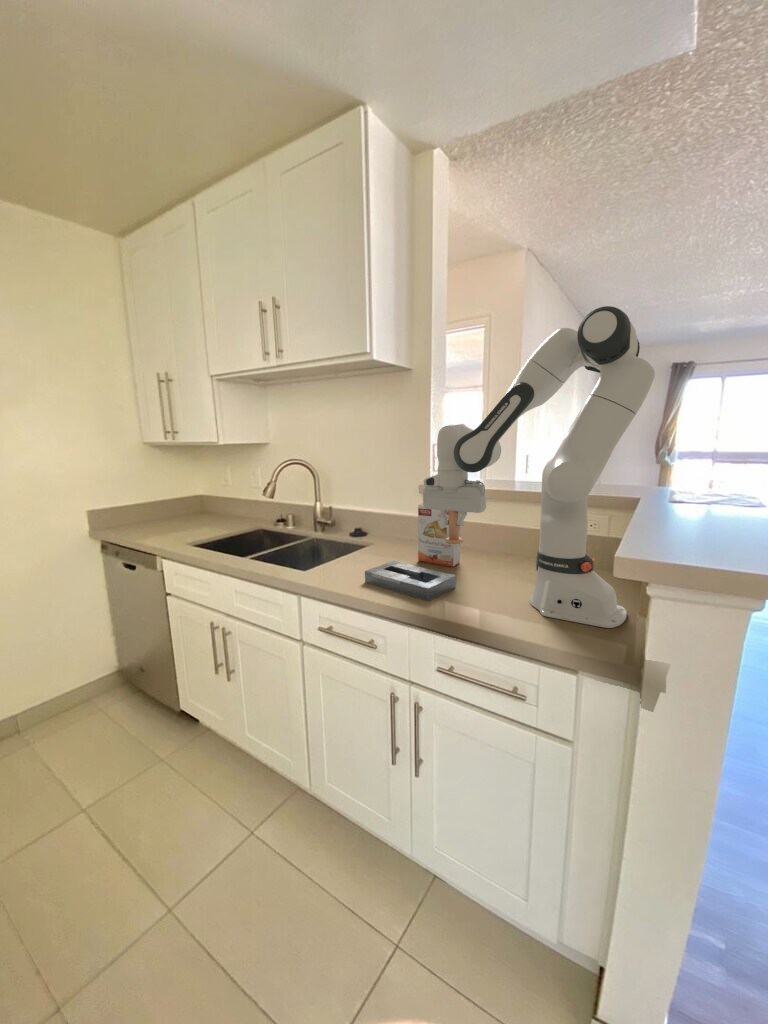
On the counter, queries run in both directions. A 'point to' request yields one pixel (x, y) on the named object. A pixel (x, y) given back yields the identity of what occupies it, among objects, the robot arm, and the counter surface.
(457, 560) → the cracker box
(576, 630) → the counter surface
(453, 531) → the peg
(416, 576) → the keyhole board
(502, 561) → the counter surface
